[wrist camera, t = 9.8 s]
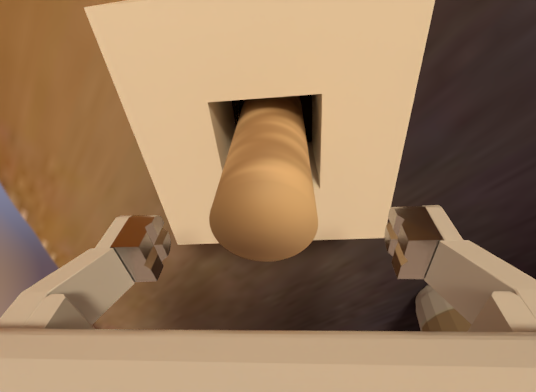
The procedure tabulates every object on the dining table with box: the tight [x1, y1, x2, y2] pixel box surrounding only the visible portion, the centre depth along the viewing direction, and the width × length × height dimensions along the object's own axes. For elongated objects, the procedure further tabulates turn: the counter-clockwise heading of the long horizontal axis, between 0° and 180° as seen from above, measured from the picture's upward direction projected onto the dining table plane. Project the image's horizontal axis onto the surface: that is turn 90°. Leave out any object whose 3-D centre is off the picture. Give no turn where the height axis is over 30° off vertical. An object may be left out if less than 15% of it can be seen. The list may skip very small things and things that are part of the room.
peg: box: [209, 96, 318, 261], centre depth 15 cm, size 4×4×12 cm
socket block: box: [84, 0, 435, 245], centre depth 18 cm, size 14×14×6 cm
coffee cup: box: [415, 285, 472, 332], centre depth 27 cm, size 11×11×15 cm
